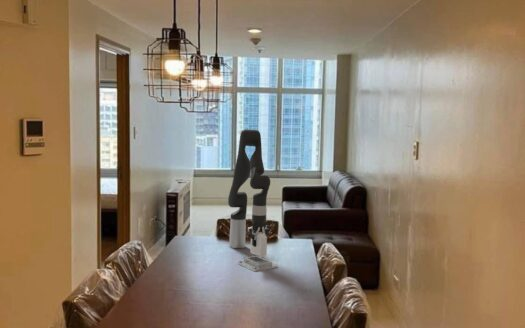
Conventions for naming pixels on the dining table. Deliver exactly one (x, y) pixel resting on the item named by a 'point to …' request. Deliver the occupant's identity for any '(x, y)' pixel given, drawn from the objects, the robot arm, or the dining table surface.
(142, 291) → the dining table surface
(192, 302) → the dining table surface
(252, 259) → the plate
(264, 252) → the photo printer
